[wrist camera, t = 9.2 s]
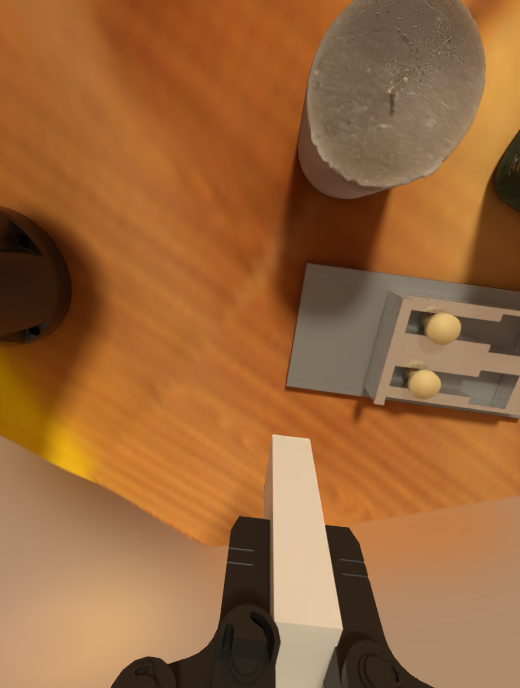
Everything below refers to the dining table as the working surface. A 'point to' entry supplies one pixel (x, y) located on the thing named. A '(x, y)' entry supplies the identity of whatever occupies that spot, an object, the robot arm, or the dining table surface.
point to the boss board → (363, 325)
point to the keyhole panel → (442, 354)
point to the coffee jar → (509, 175)
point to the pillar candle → (389, 94)
